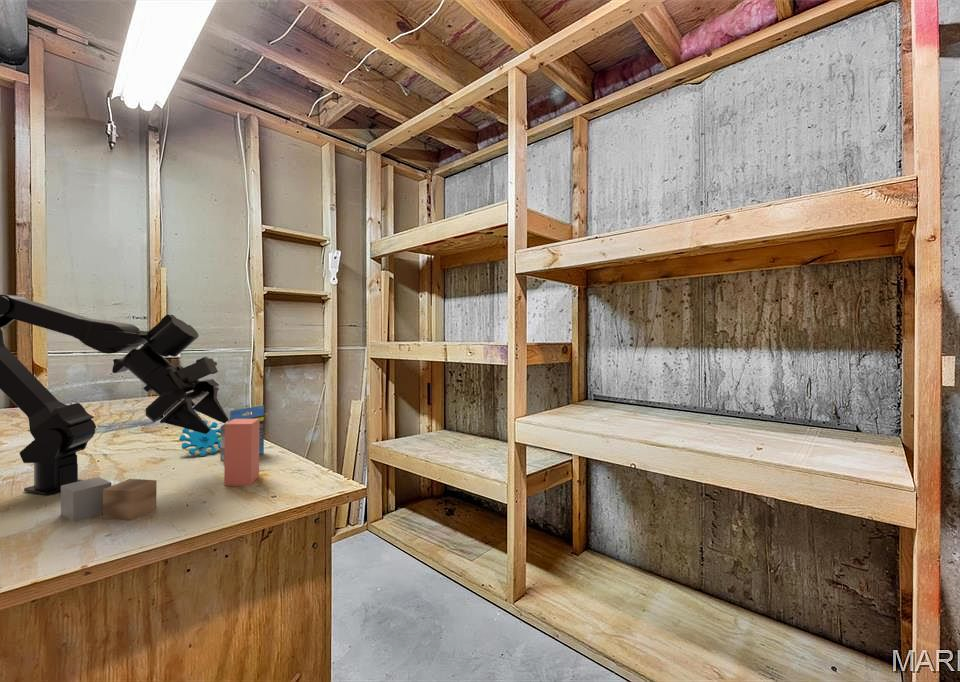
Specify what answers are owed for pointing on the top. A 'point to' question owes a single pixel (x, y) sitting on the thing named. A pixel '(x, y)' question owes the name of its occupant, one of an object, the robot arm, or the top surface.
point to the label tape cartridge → (237, 414)
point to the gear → (202, 440)
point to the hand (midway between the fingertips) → (218, 426)
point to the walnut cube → (129, 499)
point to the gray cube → (83, 498)
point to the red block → (241, 452)
